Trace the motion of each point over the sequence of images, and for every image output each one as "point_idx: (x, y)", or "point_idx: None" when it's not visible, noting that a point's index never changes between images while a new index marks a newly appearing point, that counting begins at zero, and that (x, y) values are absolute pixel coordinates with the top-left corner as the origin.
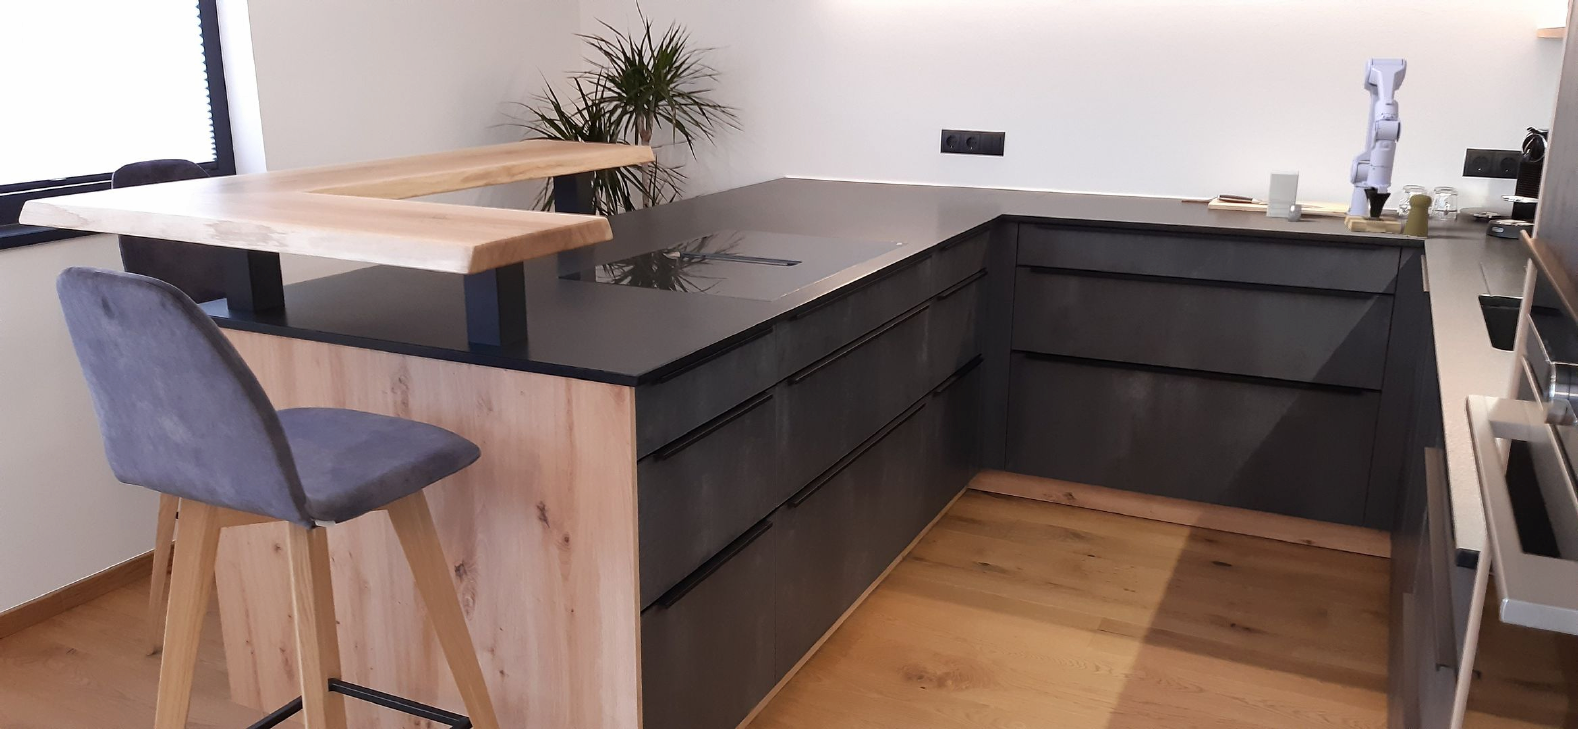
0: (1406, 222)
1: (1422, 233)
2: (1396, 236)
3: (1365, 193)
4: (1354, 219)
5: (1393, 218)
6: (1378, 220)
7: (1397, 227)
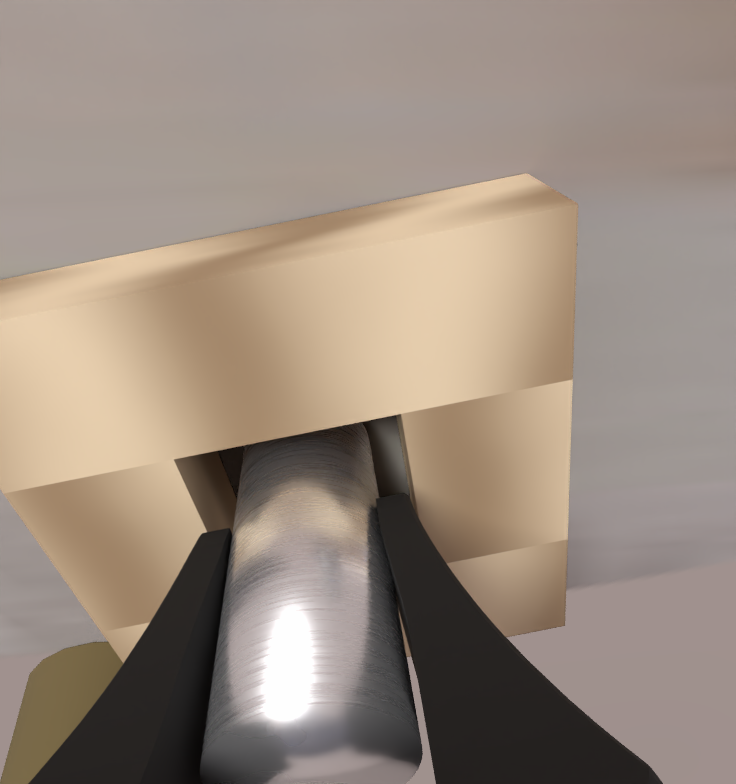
0: None
1: None
2: (25, 621)
3: (559, 733)
4: (156, 349)
5: None
6: None
7: None
